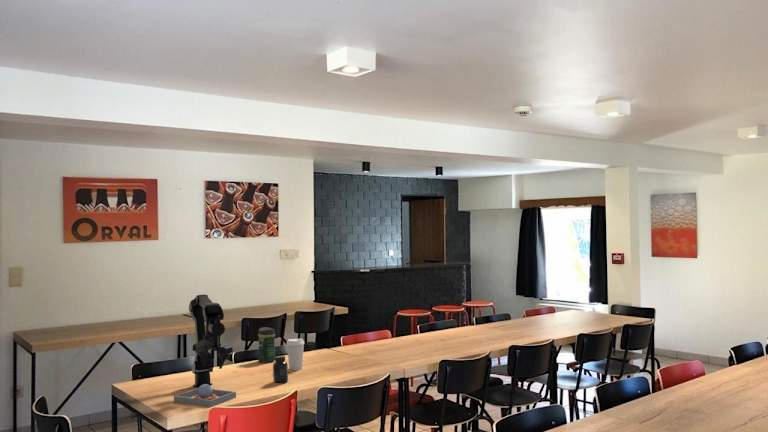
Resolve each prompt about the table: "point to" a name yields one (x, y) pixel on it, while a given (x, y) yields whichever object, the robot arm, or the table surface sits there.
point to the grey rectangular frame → (206, 402)
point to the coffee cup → (295, 353)
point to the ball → (205, 391)
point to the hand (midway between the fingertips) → (212, 367)
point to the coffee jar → (266, 344)
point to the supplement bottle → (280, 370)
